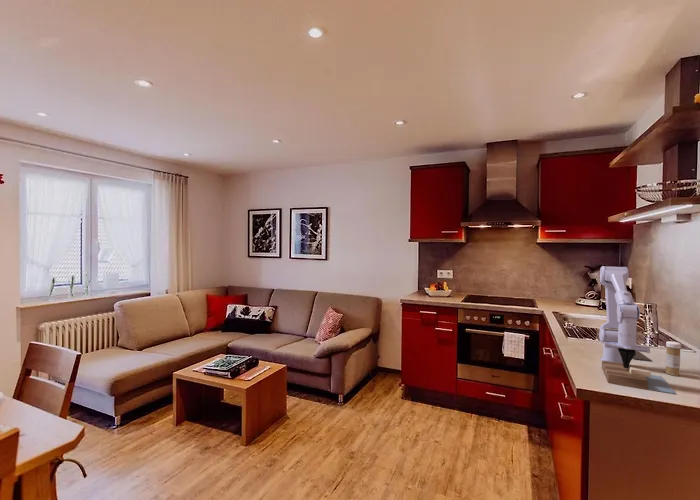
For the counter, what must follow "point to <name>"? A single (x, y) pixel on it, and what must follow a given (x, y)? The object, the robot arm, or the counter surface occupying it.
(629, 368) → the cream block
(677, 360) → the sprinkles bottle
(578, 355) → the counter surface
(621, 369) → the deck
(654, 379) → the mat
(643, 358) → the smartphone
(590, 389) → the counter surface
